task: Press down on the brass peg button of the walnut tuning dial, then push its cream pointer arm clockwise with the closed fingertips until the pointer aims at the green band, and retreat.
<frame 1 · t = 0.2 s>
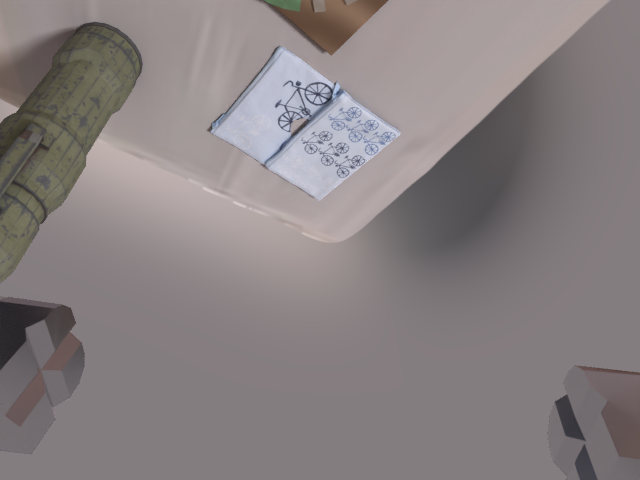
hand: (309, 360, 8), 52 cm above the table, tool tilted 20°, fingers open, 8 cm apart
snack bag: (303, 125, 72), on the table
thermos: (109, 54, 66), on the table
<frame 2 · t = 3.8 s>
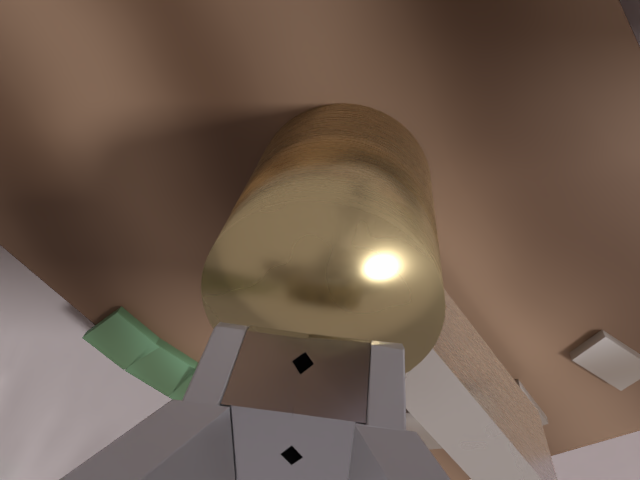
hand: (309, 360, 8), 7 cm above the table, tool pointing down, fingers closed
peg: (419, 338, 13), point 4 cm above the table, hinge at 0.0°
dial board: (305, 194, 15), on the table
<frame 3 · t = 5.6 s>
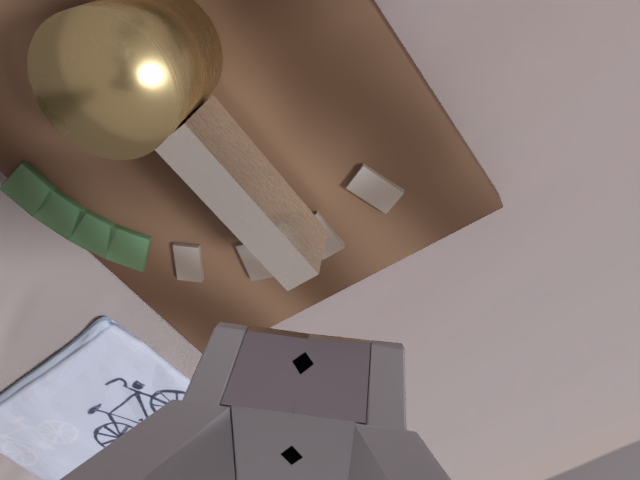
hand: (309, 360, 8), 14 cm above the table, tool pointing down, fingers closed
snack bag: (147, 442, 36), on the table
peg: (209, 150, 18), point 4 cm above the table, hinge at 0.0°
dial board: (151, 66, 20), on the table
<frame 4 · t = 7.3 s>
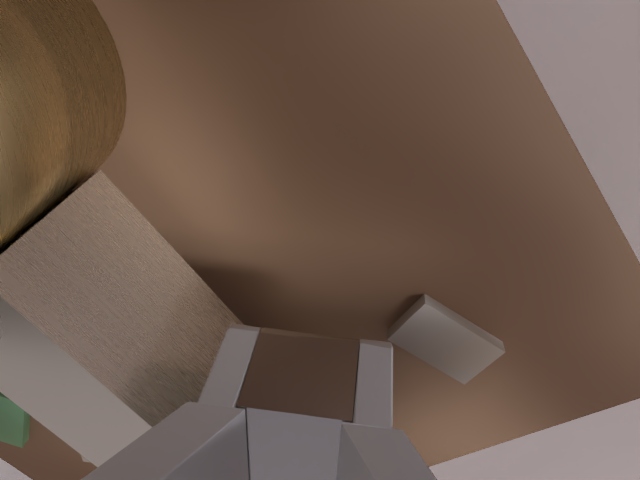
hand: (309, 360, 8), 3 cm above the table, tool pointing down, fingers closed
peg: (80, 301, 8), point 4 cm above the table, hinge at -2.8°, touching gripper
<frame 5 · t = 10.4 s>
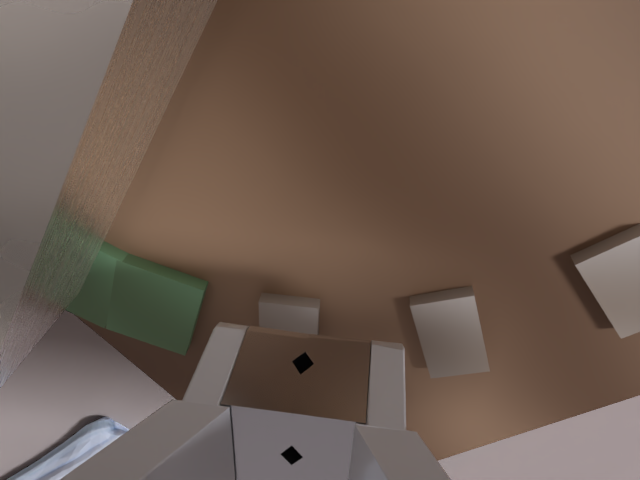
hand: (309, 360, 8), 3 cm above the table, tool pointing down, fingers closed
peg: (93, 22, 6), point 4 cm above the table, hinge at -70.4°
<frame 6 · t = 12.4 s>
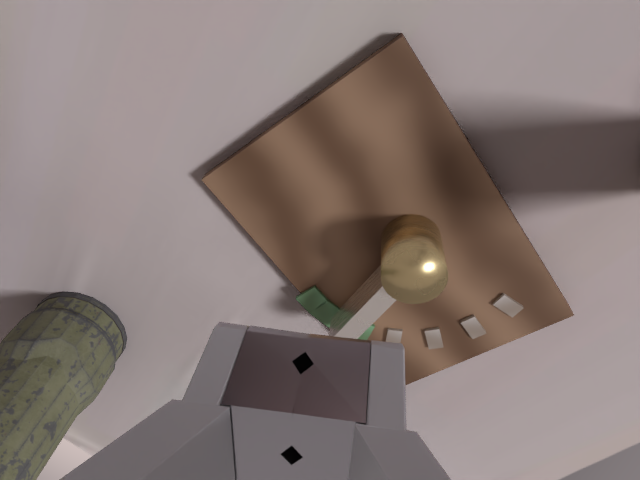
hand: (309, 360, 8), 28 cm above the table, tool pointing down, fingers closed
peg: (381, 289, 38), point 4 cm above the table, hinge at -70.5°
thermos: (82, 328, 48), on the table
dial board: (393, 241, 40), on the table
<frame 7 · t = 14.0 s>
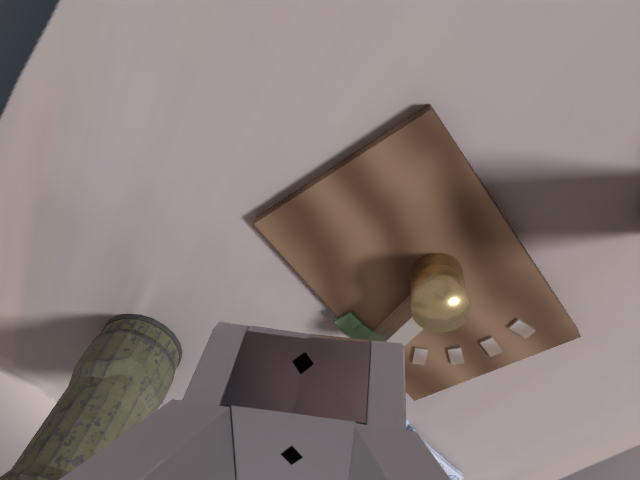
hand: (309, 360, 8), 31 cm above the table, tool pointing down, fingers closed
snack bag: (348, 445, 61), on the table
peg: (411, 317, 43), point 4 cm above the table, hinge at -70.5°
thermos: (143, 344, 55), on the table
dial board: (420, 273, 45), on the table
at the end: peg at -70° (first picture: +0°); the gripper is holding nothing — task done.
